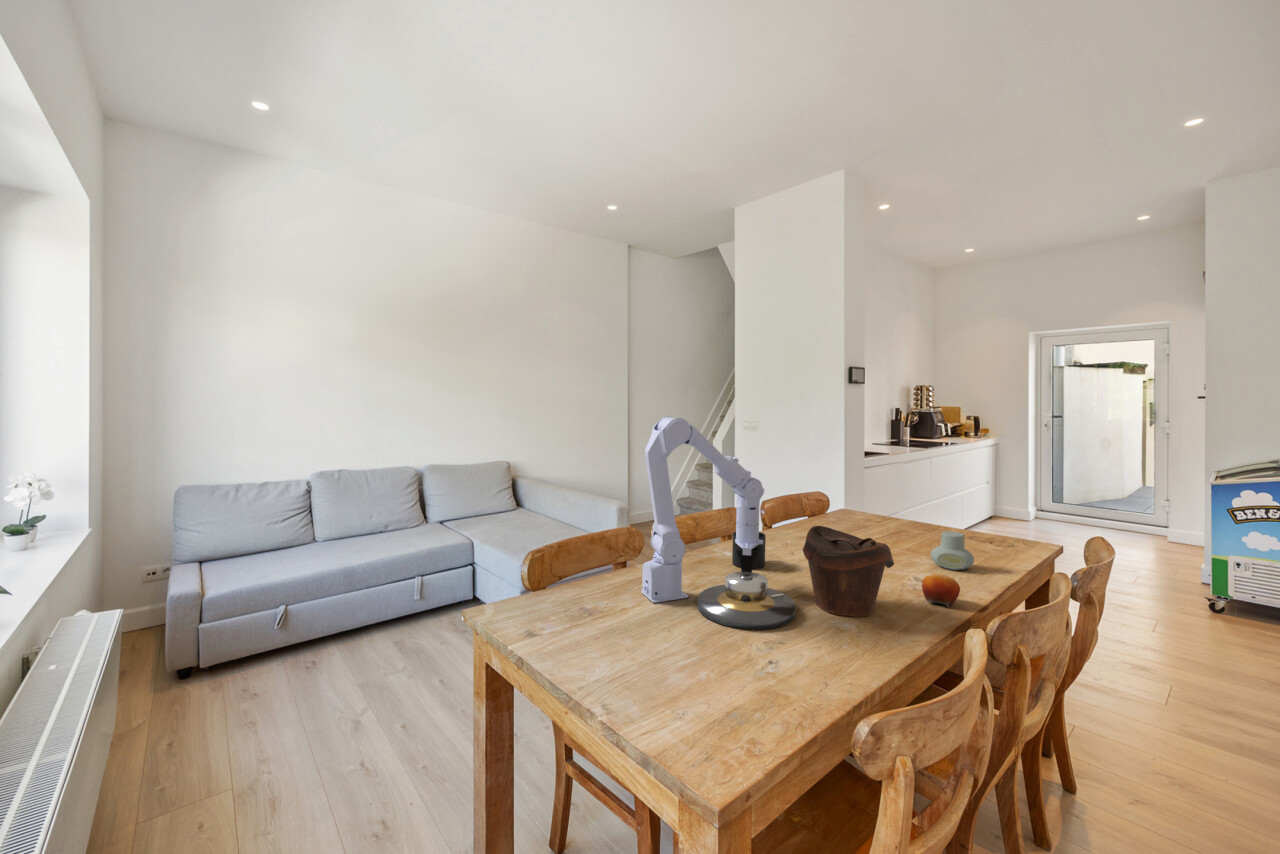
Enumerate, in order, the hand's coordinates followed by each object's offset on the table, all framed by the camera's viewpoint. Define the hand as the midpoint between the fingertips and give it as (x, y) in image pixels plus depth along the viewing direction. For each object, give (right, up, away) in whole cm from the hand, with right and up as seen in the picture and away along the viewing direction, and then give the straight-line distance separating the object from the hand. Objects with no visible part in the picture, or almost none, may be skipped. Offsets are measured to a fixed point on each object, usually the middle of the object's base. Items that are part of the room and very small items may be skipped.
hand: (746, 575), depth 139 cm
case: (+21, -4, -12) cm, 24 cm away
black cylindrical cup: (+5, -3, +21) cm, 22 cm away
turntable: (-3, -4, -14) cm, 15 cm away
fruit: (+45, -5, -8) cm, 46 cm away
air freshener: (+64, -3, +19) cm, 66 cm away
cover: (-2, -2, -9) cm, 10 cm away
